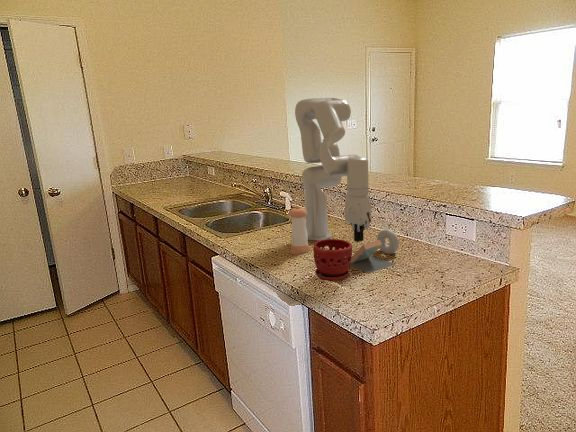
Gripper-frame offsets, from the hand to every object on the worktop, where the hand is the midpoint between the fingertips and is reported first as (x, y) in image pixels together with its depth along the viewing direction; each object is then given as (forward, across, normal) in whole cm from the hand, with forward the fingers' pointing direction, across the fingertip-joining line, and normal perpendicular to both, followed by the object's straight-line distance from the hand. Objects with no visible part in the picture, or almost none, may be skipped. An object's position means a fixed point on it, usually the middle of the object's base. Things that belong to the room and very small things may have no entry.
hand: (358, 240), depth 162 cm
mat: (+8, +4, 0) cm, 9 cm away
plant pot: (+9, +5, -16) cm, 19 cm away
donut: (+8, +1, +14) cm, 16 cm away
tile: (+7, 0, 0) cm, 7 cm away
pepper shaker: (+8, -24, -10) cm, 27 cm away
